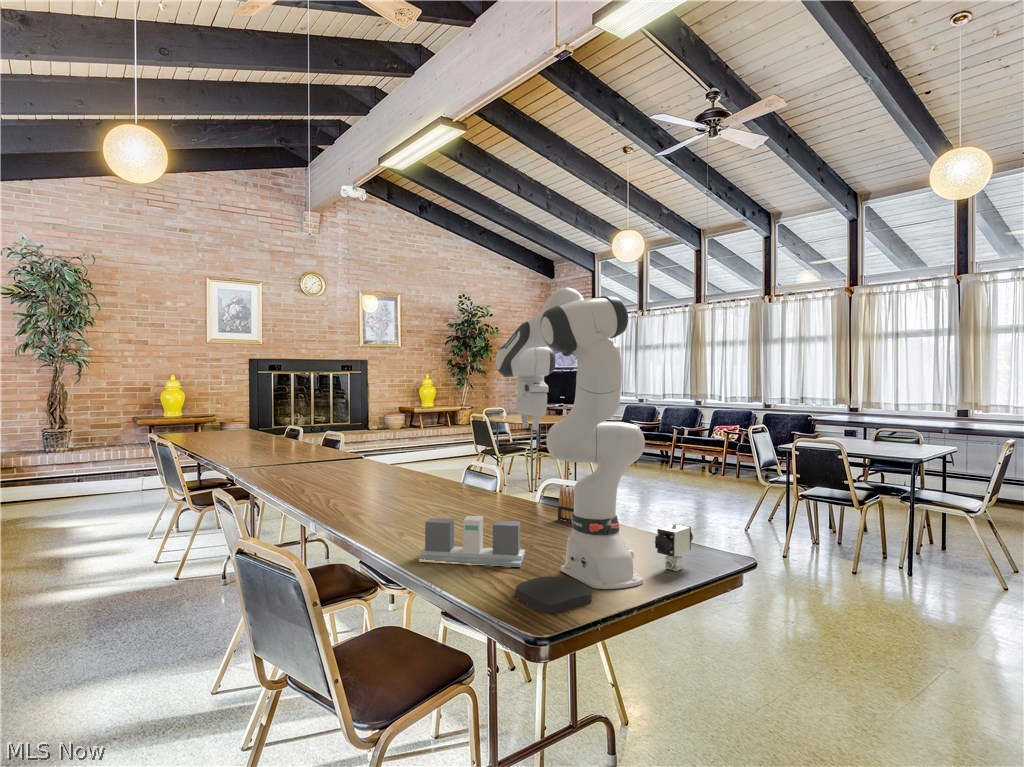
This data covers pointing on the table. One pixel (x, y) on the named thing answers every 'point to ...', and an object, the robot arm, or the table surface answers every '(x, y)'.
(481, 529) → the block
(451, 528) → the twin block stand
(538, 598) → the media streaming box
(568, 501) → the ammunition clip
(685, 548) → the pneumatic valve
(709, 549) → the table surface
